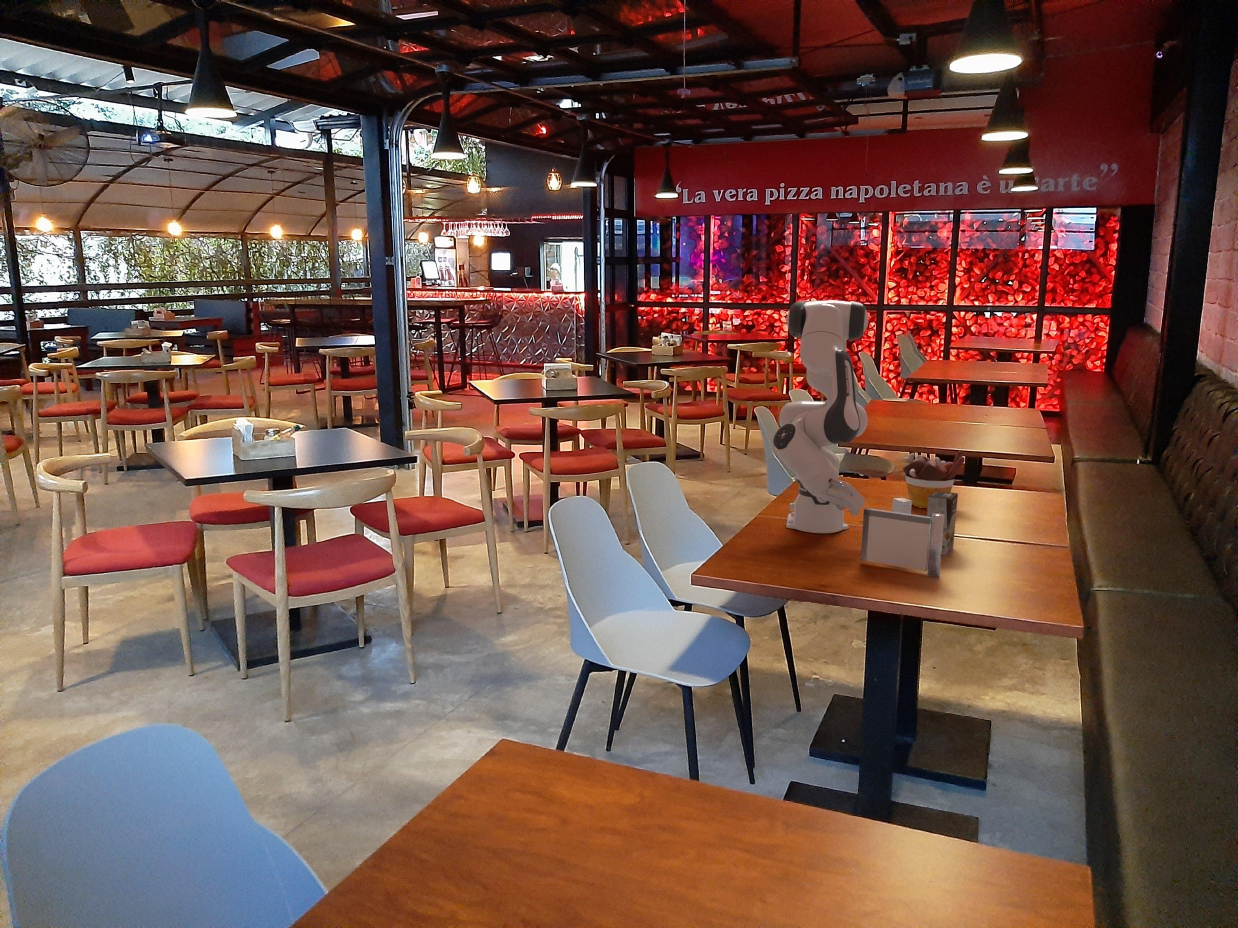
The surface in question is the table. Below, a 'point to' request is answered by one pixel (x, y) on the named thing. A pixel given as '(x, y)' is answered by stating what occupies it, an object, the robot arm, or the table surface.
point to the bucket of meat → (929, 476)
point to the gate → (896, 539)
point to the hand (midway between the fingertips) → (849, 510)
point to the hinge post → (935, 545)
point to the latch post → (902, 505)
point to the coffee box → (947, 507)
